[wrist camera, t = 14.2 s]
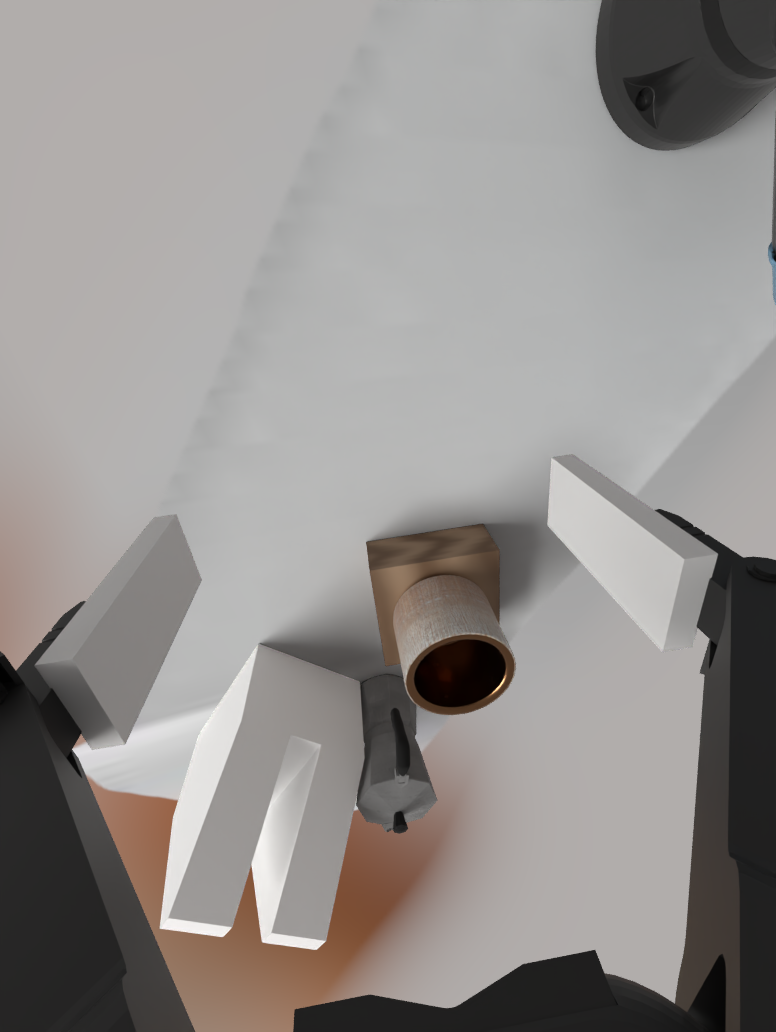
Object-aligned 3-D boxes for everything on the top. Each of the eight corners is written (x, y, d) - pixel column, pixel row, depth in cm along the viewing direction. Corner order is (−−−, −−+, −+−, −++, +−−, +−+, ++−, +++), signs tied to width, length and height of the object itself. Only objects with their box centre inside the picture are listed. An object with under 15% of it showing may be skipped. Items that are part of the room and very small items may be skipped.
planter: (383, 583, 47) (394, 647, 39) (482, 562, 47) (514, 621, 39) (400, 655, 52) (413, 726, 44) (489, 636, 52) (519, 703, 44)
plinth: (482, 523, 52) (499, 550, 47) (484, 614, 58) (499, 647, 53) (366, 542, 51) (369, 570, 46) (381, 632, 58) (385, 666, 53)
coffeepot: (411, 725, 67) (435, 860, 51) (349, 728, 66) (354, 867, 50) (423, 649, 60) (455, 778, 44) (355, 650, 59) (362, 783, 43)
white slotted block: (258, 642, 57) (209, 866, 35) (359, 680, 62) (373, 897, 40) (199, 733, 63) (125, 970, 41) (295, 760, 68) (276, 986, 46)
